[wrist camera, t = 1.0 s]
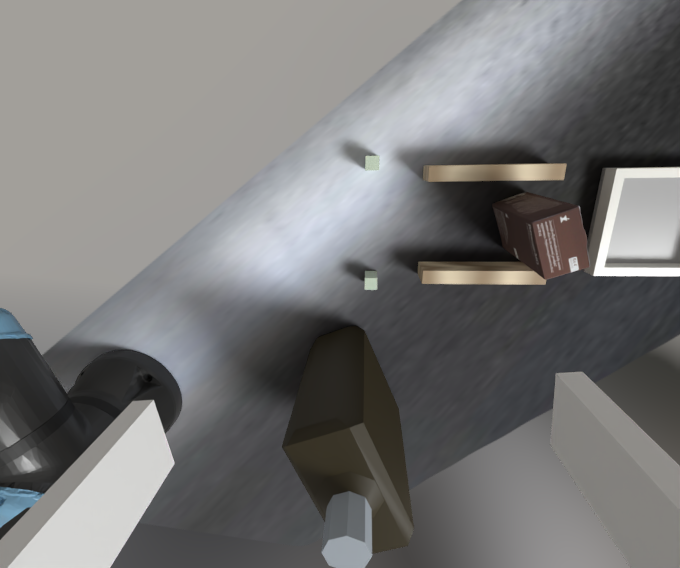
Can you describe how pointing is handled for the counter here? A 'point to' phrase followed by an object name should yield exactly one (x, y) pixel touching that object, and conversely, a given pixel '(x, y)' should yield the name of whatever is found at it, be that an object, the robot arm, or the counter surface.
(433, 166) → the channel
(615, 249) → the tray
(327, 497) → the bottle
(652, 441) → the robot arm
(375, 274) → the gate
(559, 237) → the box
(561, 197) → the counter surface
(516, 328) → the counter surface
